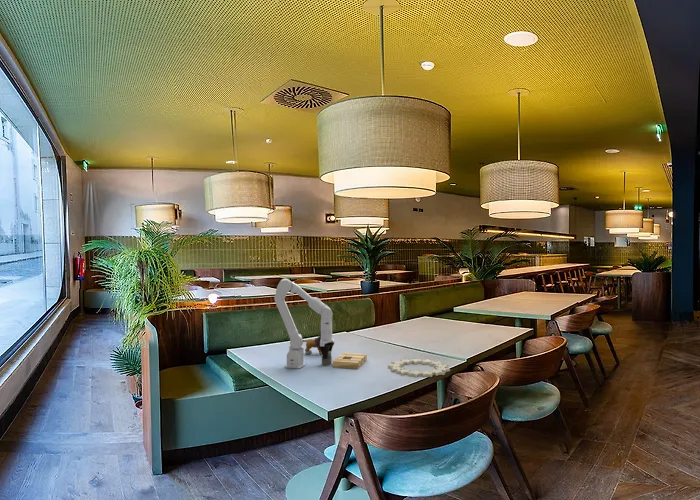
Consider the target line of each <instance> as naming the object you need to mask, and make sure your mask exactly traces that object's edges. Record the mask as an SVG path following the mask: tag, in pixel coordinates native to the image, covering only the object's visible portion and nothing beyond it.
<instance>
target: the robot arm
mask: <svg viewBox="0 0 700 500" xmlns="http://www.w3.org/2000/svg"><path fill="white" fill-rule="evenodd" d="M289 292H290V293H292V294H296V295H298V296H299V297H301V298H302V299H303V300H305V301H306V302H307V303H308V307H309V308H311V310H313V311H314V312H315V313H317V315H318V314H319V315H320V318H321V319H320V330H321V342H320V345H319V348H320V350H321V353H322V355H321V358H322V357H323V359H327V357H328V351H331V352H332V351H333V347H334V345H335V339H334V338H333V331H332V330H333V315H334V313H333V311H332V309H331V308H330V307H329V306H328V304H326V303H323V302H322V300H321V299H320V298H319V297H316V296H315V297H312V296H311V295H310V294H309V293H307V292H306V291H305V290H304V289H302V287H300V285H298V284H296V283H295V282H294V281H291V280H290V279H289V278H282V279H281V280H280V281H279V282H278V284H277V287H276V291H275V294H274V303H275V304H276V307H277V309H278V312H279V313H280V316H281V319H282V322H283V324H284V327H285V328H286V331H287V334H288V337H289V341H290V342H289V347H288V349H289V351H288V352H287V353H286V365H284V368H288V369H289V368H290V369H301V368H303V367H304V366H306V365H307V362H304V361H305V359H304V356H305V355H304V352H305V347H304V346H303V344H304V342H303V340H304V339H303V336H302V334H301V333H300V332H299V330H298V329H297V326H296V325H295V322H294V319H293V317H292V315H291V313H290V310H289V307H288V304H287V303H286V300H285V298H286V296H287V294H288V293H289Z"/></svg>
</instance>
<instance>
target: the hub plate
mask: <svg viewBox="0 0 700 500" xmlns="http://www.w3.org/2000/svg"><path fill="white" fill-rule="evenodd" d="M367 355H368V354H367V353H355V352H354V353H352V352H342V353H341V354H340V355H338V356H337V357H336V358H334V359H332V367H333V368H339V369H340V368H341V369H357V370H358V369H359V368H360V367H361V366H362V365H363V364H364V363H365V362H366V361H367Z"/></svg>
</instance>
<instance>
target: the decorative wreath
mask: <svg viewBox="0 0 700 500" xmlns="http://www.w3.org/2000/svg"><path fill="white" fill-rule="evenodd" d="M411 364H414V365H417V364H419V365H421V364H422V365H423V366H424V365H428V366H430V367H433V369H432V370H425V371H419V370H411V369H406V368H405V367H404V365H405V366H406V365H407V366H408V365H411ZM387 369H390V372H391V373H395V374H399V375H401V376H404V375H405V376H408V377H414V378H418V377H422V378H425V377H428V378H433V376H445V374H446V373H449V372H451V368H449V364H444V363H442V362H441V361H440V360H439V361H435V360H431V359H428V358H427V359H422V358H419V359H418V358H413V359H400V360H397V361H391V363H390V364H389V365H387Z"/></svg>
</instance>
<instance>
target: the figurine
mask: <svg viewBox="0 0 700 500" xmlns="http://www.w3.org/2000/svg"><path fill="white" fill-rule="evenodd" d="M333 331H334V330H333V329H332V332H333ZM302 340H303V343H305V347H306V348H304V352H305V354H306V355H310V354H311V353H313V351H312V350H311V349H313V348H317V350H318V351H317V352H318V353H319V355H321V356H322V353H321V350H320V348H319V345H320V342H321V329H320V331H319V332H318V335H317V337H315V338H314V339H312V338H310V339H309V338H308V339H302Z"/></svg>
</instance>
